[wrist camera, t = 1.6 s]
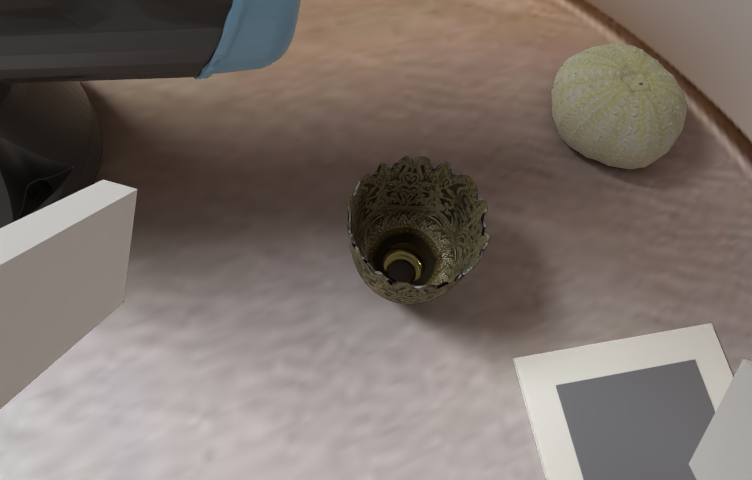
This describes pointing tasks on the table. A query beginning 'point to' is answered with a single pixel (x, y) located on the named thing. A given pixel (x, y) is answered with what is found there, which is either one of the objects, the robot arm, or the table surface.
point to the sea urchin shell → (618, 106)
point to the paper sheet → (624, 404)
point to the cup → (416, 228)
